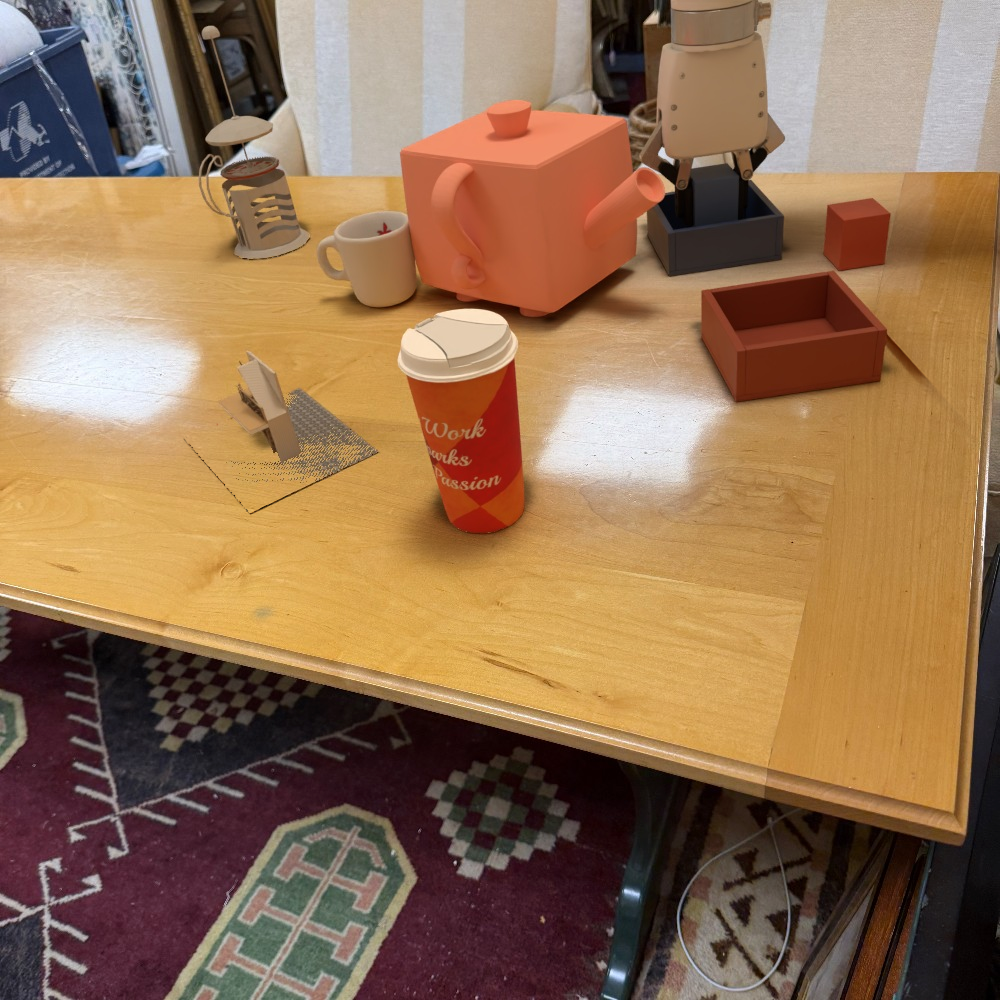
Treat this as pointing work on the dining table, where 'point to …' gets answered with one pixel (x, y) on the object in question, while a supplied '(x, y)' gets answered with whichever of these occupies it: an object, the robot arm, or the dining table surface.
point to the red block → (856, 234)
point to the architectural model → (289, 421)
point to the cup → (374, 257)
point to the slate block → (714, 194)
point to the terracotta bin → (791, 336)
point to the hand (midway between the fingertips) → (710, 217)
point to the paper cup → (469, 414)
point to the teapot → (525, 205)
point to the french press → (253, 173)
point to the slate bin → (716, 236)
